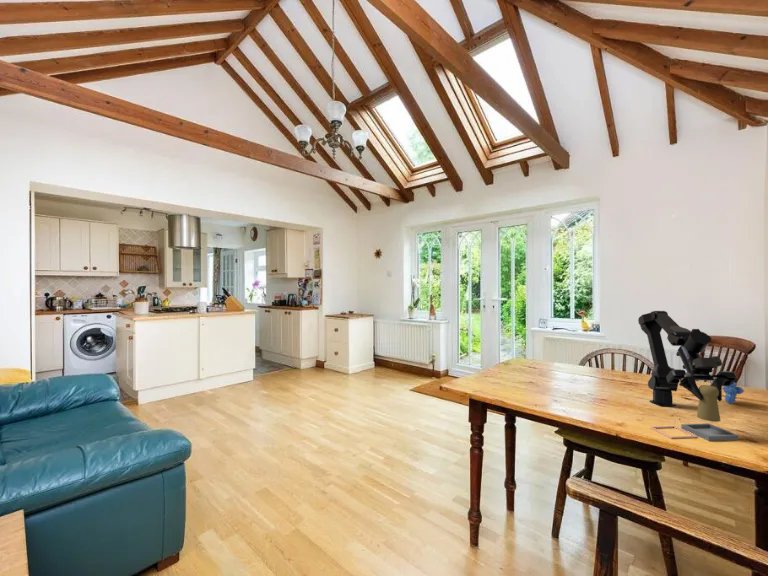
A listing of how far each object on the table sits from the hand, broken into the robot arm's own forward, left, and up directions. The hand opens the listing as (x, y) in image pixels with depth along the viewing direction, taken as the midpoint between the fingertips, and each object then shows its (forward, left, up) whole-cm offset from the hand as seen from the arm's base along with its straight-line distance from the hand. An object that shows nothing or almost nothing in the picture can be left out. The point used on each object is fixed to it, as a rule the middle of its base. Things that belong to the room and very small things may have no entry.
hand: (711, 400), depth 122 cm
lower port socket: (-1, 0, -12) cm, 12 cm away
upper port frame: (-3, -11, -12) cm, 16 cm away
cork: (-1, 0, -7) cm, 7 cm away
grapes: (-29, +38, -12) cm, 49 cm away
